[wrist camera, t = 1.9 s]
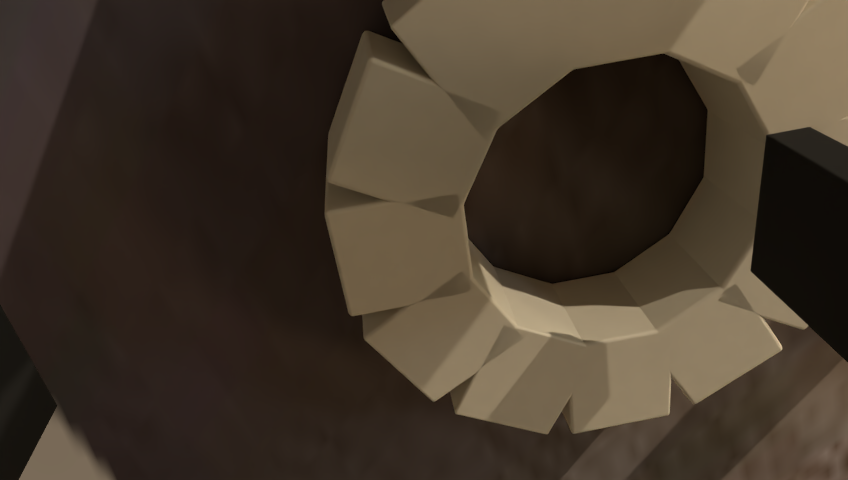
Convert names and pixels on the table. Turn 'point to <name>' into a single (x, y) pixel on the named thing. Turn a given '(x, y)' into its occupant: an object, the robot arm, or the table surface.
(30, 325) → the table surface
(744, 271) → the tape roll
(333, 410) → the table surface
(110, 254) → the table surface
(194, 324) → the table surface
